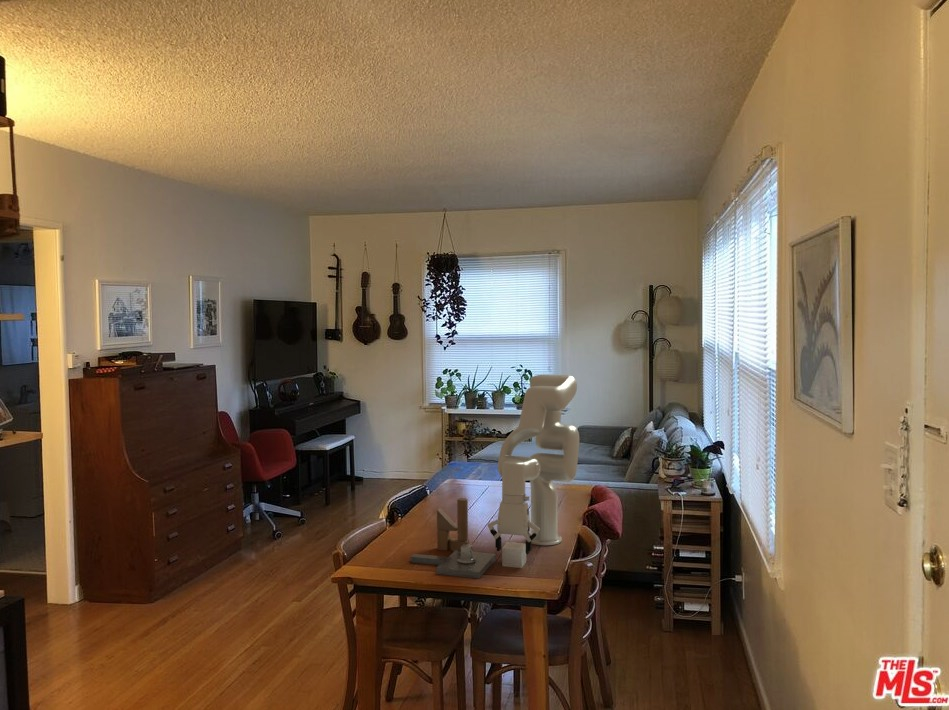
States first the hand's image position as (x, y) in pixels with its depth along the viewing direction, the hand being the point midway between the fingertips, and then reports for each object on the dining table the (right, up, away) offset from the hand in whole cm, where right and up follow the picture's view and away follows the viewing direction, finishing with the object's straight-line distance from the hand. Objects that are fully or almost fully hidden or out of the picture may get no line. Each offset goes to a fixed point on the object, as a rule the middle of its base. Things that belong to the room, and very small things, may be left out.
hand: (513, 551), depth 222 cm
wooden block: (-20, -4, +16) cm, 26 cm away
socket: (0, -4, +1) cm, 4 cm away
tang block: (-21, -4, 0) cm, 21 cm away
